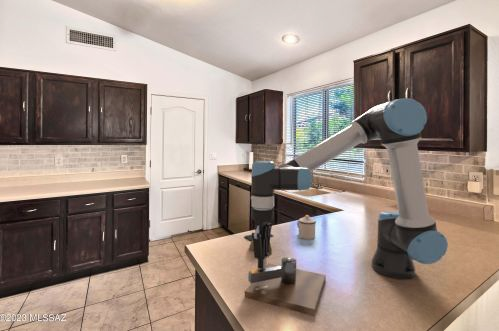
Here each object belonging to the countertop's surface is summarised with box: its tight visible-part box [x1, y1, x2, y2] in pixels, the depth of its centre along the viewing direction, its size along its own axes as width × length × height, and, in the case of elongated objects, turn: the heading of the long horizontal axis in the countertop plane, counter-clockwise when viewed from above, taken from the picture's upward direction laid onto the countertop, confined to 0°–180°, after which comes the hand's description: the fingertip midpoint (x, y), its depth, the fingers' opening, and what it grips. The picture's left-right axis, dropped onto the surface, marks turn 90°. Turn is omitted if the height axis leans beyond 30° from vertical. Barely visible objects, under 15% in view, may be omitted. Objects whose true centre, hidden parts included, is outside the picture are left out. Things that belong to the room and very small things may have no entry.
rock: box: [248, 240, 273, 255], centre depth 119 cm, size 11×9×10 cm
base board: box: [244, 263, 326, 317], centre depth 89 cm, size 22×22×2 cm
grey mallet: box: [247, 256, 297, 284], centre depth 87 cm, size 17×5×8 cm, turn 112°
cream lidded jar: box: [296, 214, 316, 240], centre depth 141 cm, size 12×9×12 cm
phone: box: [243, 234, 274, 242], centre depth 139 cm, size 7×1×15 cm
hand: (261, 275), depth 88 cm, fingers closed
